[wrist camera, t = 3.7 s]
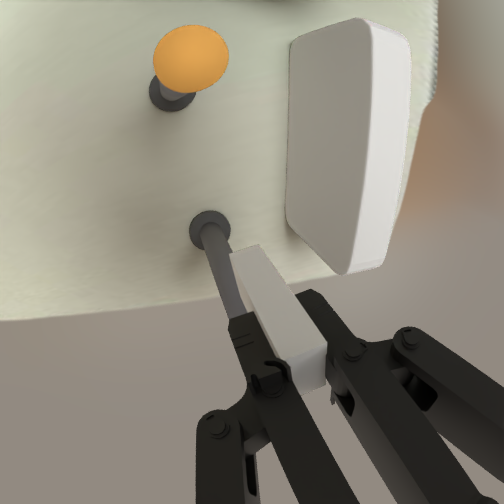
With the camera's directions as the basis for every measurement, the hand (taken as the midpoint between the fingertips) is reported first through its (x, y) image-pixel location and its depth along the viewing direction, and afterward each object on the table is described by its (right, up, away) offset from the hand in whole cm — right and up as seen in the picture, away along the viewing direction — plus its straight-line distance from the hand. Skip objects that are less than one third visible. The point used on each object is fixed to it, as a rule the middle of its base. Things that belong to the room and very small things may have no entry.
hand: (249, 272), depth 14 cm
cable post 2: (-6, +4, +28) cm, 29 cm away
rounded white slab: (+8, +19, +25) cm, 32 cm away
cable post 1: (-10, +22, +17) cm, 29 cm away
